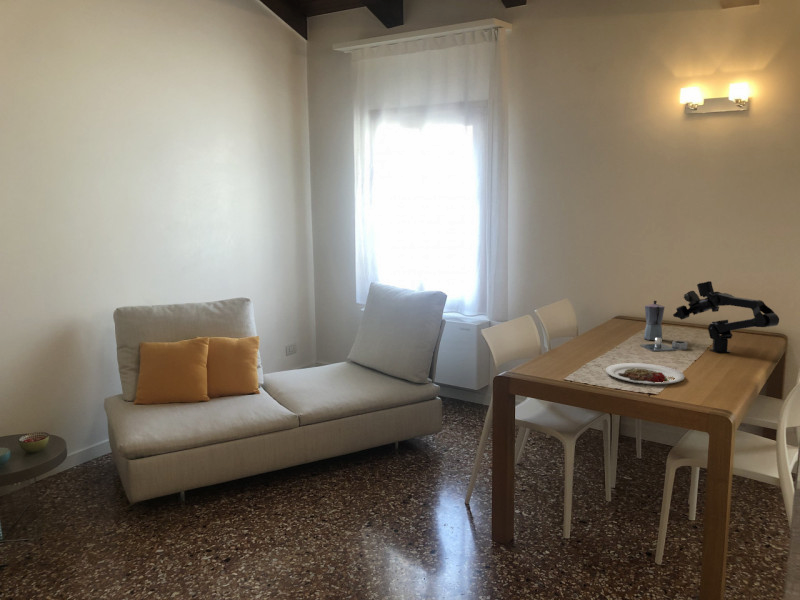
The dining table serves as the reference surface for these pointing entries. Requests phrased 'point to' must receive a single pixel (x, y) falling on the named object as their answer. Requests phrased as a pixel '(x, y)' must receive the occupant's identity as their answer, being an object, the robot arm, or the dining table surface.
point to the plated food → (644, 373)
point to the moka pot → (653, 321)
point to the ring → (679, 345)
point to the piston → (658, 346)
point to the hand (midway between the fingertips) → (679, 313)
